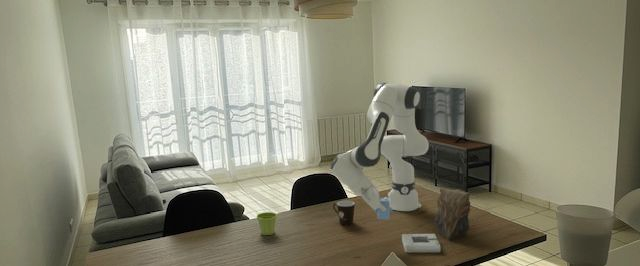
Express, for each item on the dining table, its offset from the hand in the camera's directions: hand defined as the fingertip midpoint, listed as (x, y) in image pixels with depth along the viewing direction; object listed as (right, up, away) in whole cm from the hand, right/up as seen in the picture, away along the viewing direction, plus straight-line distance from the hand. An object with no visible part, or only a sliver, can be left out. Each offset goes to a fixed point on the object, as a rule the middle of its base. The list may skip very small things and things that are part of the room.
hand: (384, 207), depth 188 cm
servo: (-1, -4, +1) cm, 4 cm away
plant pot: (-52, -15, +19) cm, 57 cm away
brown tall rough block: (+30, -14, +9) cm, 35 cm away
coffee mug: (-15, -12, +29) cm, 35 cm away
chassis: (+15, -16, -2) cm, 22 cm away
